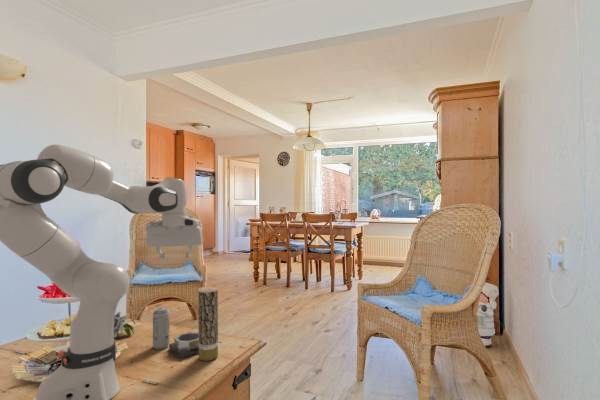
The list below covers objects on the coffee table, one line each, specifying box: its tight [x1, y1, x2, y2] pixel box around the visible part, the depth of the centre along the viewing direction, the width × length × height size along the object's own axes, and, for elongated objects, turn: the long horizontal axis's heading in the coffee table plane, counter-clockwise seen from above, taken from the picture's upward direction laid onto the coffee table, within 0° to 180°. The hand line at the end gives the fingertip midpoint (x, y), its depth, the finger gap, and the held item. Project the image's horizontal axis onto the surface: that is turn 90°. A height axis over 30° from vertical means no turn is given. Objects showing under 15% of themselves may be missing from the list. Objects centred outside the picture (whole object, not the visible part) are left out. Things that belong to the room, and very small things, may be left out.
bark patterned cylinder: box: [198, 286, 219, 362], centre depth 125 cm, size 7×7×25 cm
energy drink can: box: [152, 306, 170, 351], centre depth 134 cm, size 6×6×15 cm
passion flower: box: [114, 311, 136, 339], centre depth 146 cm, size 11×11×12 cm
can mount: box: [168, 331, 199, 360], centre depth 131 cm, size 11×11×5 cm
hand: (175, 257), depth 129 cm, fingers open, 8 cm apart
